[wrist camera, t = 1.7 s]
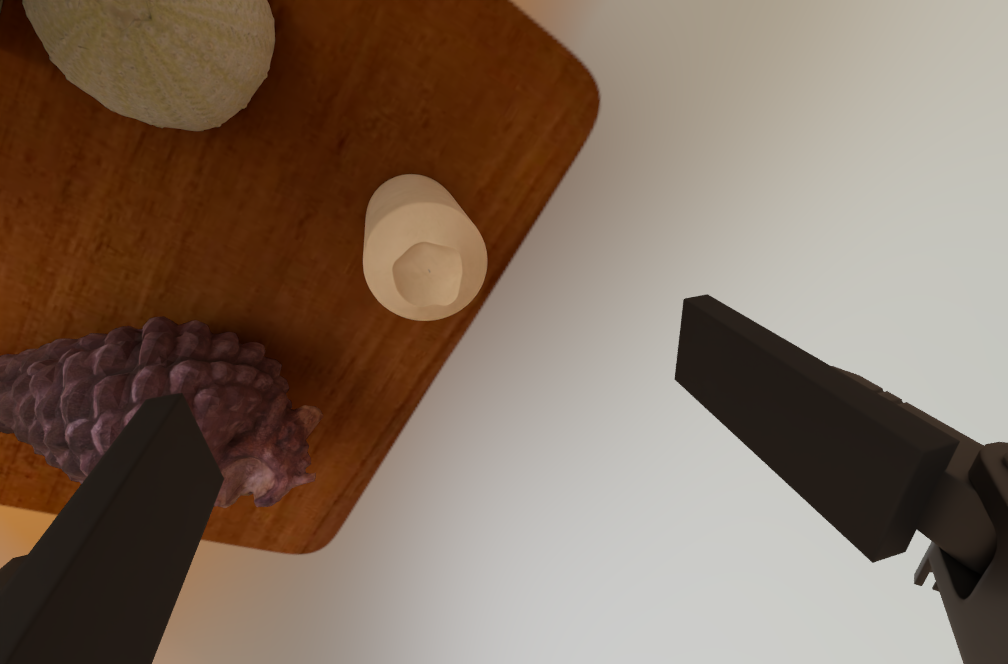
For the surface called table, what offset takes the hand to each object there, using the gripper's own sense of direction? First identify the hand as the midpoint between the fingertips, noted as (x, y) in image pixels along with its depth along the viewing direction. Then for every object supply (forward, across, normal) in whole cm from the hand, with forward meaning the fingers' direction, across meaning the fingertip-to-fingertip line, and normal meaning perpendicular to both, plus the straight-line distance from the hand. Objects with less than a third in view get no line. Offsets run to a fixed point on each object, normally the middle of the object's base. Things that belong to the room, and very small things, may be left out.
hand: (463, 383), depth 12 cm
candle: (+18, 0, 0) cm, 18 cm away
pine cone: (+18, -15, -7) cm, 25 cm away
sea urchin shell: (+18, -9, +11) cm, 23 cm away
